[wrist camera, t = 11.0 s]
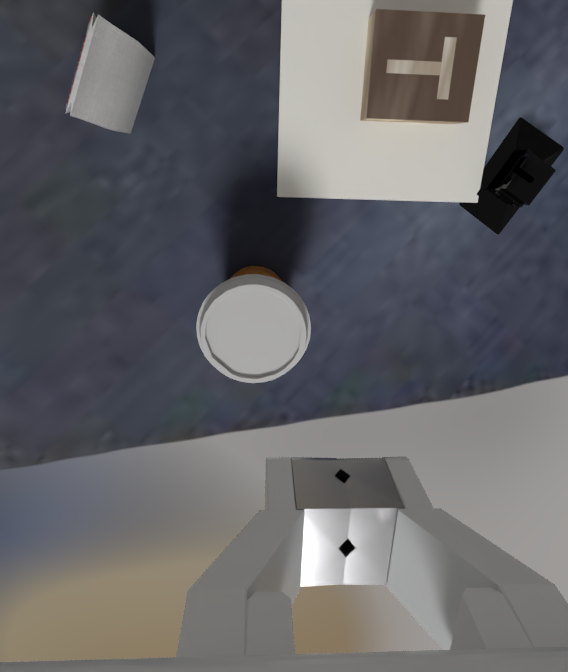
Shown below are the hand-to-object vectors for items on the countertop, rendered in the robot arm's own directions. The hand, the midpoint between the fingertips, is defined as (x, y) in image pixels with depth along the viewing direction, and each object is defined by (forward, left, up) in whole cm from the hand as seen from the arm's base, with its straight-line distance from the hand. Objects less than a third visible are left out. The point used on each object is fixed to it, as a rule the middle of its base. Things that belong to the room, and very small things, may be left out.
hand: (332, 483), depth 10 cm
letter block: (-8, -14, -37) cm, 41 cm away
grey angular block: (+14, -12, -39) cm, 43 cm away
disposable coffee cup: (+2, +7, -39) cm, 40 cm away
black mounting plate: (-23, -5, -40) cm, 46 cm away
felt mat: (-10, -14, -39) cm, 43 cm away
